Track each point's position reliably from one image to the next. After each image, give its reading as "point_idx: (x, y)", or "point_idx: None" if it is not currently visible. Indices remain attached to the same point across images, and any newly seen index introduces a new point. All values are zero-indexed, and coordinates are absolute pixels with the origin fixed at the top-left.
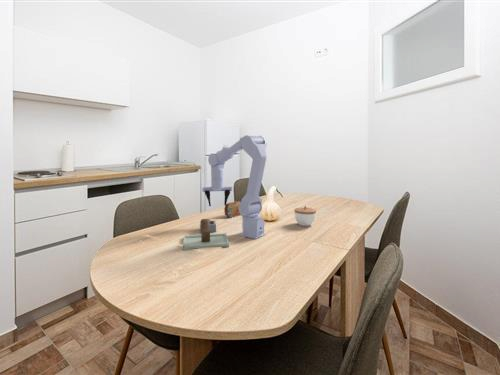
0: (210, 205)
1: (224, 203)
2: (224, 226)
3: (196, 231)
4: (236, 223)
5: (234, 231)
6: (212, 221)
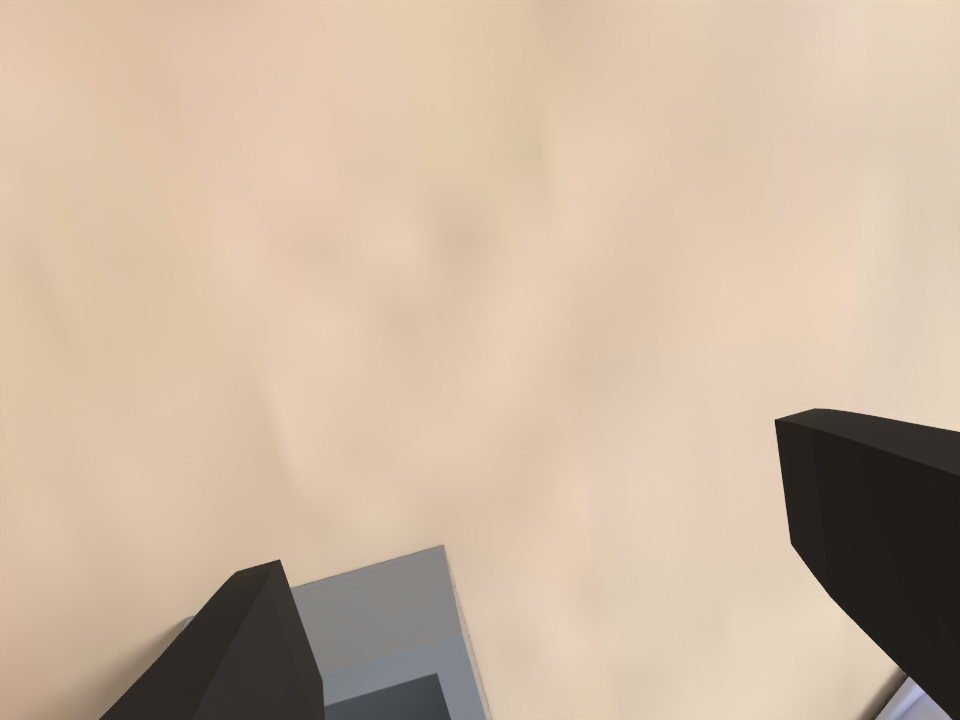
0: (318, 709)
1: (804, 450)
2: (584, 378)
3: None
4: (797, 152)
5: (763, 628)
6: (416, 672)
